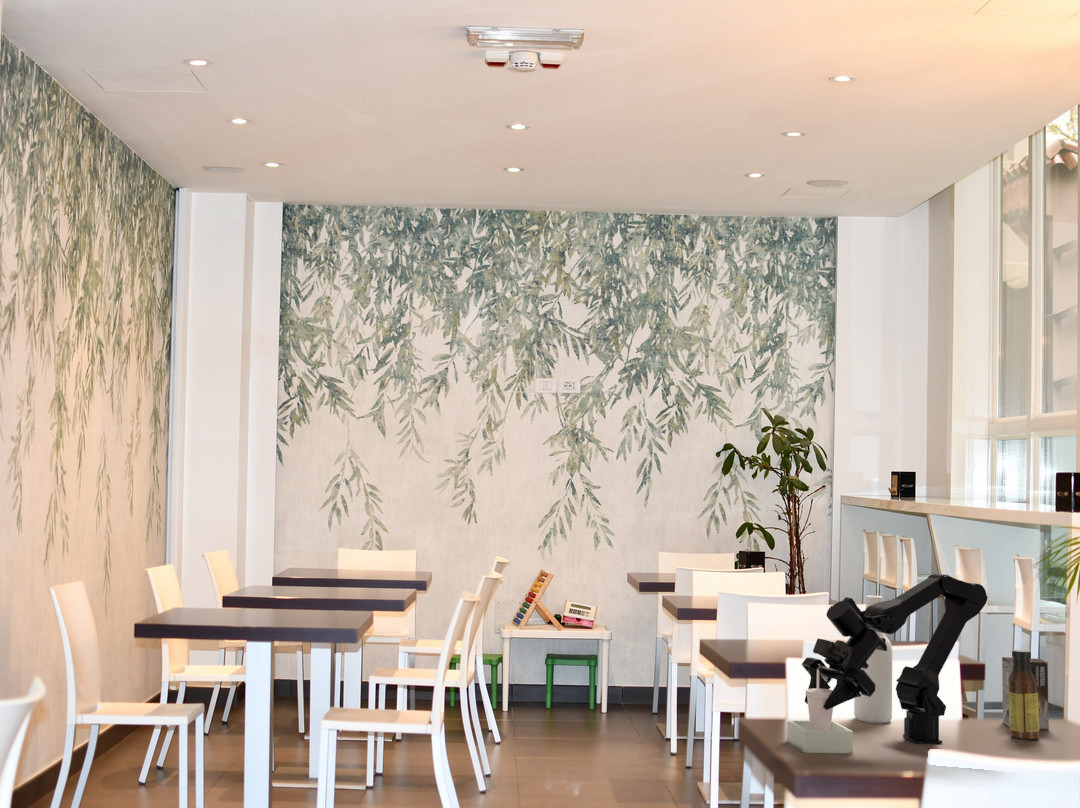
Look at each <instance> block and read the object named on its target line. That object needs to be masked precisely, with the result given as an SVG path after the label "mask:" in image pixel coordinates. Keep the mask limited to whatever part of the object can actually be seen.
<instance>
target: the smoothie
mask: <svg viewBox="0 0 1080 808" xmlns="http://www.w3.org/2000/svg"><path fill="white" fill-rule="evenodd" d="M832 691H833V690H832V689H820V688H819V670H817V688H810V689H808V688H806V689H805V696H806V695H807V701H808V704H807V708H808V716H809V721H810V727H811V730H830V728H831V721H833V720H832V719H833V718H832V717H833V711H834V707H832V708H830V709H828V710H825V708H824V707H823V706H824V704H825V702H826V700H827V699H828V697H829V695H830V694H831V692H832Z"/></svg>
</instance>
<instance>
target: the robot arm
mask: <svg viewBox="0 0 1080 808" xmlns="http://www.w3.org/2000/svg"><path fill="white" fill-rule="evenodd" d="M941 596H942V597H944V614H943V616H942V618H941V619H940V620H939V621H940V622H939V623H938V625H937V627H936V629H935V630H934V633H933V635H931V638H930V640H929V642H928V644H927V646H926V647H925V649H924V652H923V654H922V655H921V656H920V659H919V661H918V663H917V664H916V665H914V666H912V667H911V666H908V665H907V666H906V665H905V666H904V667H903V669H902V671H901V674H900V675H899V677H898V678H897V679H896V682H897V684H896V687H895V691H896V696H897V699H898V701H899V704H900V708H901V710H905V711H906V714H905V717H903V718H904V719H903V721H904V722H903V734H902V737H903V738H905V739H906V740H909V741H911V742H913V743H915V744H943V740H941V739H940V717H942V716H943V717H944V716H945V713H946V709H947V706H946V703H944V702H943V700H942V699H941V698H940V697H939V696H938V694H939V691H940V678H939V677H940V674H941V672H942V669H943V668H944V666H945V664H946V662H947V660H948V658H949V656H950V654H951V652H952V651H953V648H954V646H955V645H956V643H957V640H958V639H959V636H960V635H961V633H962V631H963V630H964V628H965V625H966V623H968V622H969V621H970V620H972V619H973V618H975V617H977V616H978V615H979V614H980V612H981V611H982V610H983V608H984V607H985V606H986V604H987V601H988V595H987V591H986V589H985V587H984V586H983V585H982V584H980V583H976V582H974V583H973V582H966V581H963V580H960V579H957V578H954V577H953V576H951V575H948V574H941V573H932V574H930V575H928V577H927V578H925V579H924V580H922V581H921V582H919V583H917V584H916V585H914V586H913V587H911V588H909V589H908V590H906V591H905V592H903V593H901V594H900V595H898V596H896V597H894V598H892V599H887V600H882V602H879V603H876V604H873V605H871V606H869V607H867V608H866V607H865V609H864V610H861V609H860V608H859V607H858V605H857V603H856V601H855V600H854V599H853V598H852V597H844V598H843V600H840V601H838V602H836V603H834V604H833V605H831V606H829V608H828V610H827V611H826V617H827V618H828V620H829V621H830V623H832V626H834V627H835V629H836V630H837V631H838V633H839V634H841V636H842V637H845V638H846V637H847V638H848V640H847V641H846V642H845V641H843V640H839V639H837V640H836V641H835V642H834V641H831V640H828V639H822V638H817V639H816V642H815V644H814V647H813V650H812V653H814V654H815V655H816V654H817V655H819V656H821V657H823V658H824V659H823V661H824V662H823V661H822V659H821V658H816V657H809V656H808V657H805V659H804V660H803V662H802V663H801V666H802V667H803V669H804V670H805V671H806V672H807V673H808V675H809V676H810V680H809V681H810V682H809V685H808V688H807V689H810V688H817V670H819V688H820V689H829V690H831V688H832V687H831V686H830V685H829V684H830V682H831V681H832V680H835V681H836V683H835V684H836V685H835V686H834V688H833V691H832V692H831V694H830V695H829V697H828V699H827V700H826V702H825V704H824V706H823V707H824V708H825V710H828V709H830V708H832V707H833V708H835V707H837V706H839V705H841V704H844V703H846V702H848V701H850V700H853V699H854V698H856V697H860V696H861V694H862V695H865V696H869V697H871V696H872V694H873V693H874V692H875V683H874V682H873V681H872V680H871V678H870V677H869V676H868V675H867V673H866V672H865V671H864V670H862V669H861V668H863V669H867V668H868V666H869V665H868V664H867V663H866V662H867V660H868V659H869V658H870V657H871V655H872V654H873V653H874V651H875V650H876V649H877V650H882V651H887V645H886V642H885V641H886V639H885V638H880V637H879V636H878V634H877V633H876V632H881V633H885V635H886V634H887V635H893V634H896V633H897V632H898V631H899V630H900V629H901V628H902V627H904V625H905V624H906V621H907V620H908V618H909V617H910V616H911V615H912V614H914V613H915V612H917V611H918V610H920V609H922V608H923V607H925V606H926V605H928V604H929V603H931V602H933V601H934V600H936V599H937V598H939V597H941ZM875 631H876V632H875ZM825 663H826V664H827V665H828V667H827V665H826V664H825ZM860 691H861V694H860ZM804 697H805V698H804V703H806V704H807V705H808V701H807V695H806V694H805V696H804Z"/></svg>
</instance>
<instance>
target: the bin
mask: <svg viewBox="0 0 1080 808" xmlns="http://www.w3.org/2000/svg"><path fill="white" fill-rule="evenodd" d="M786 742H787V743H789V744H790V745H792V746H793V747H795V748H796V749H798V750H800V751H801V752H803V753H804V754H806V753H807V754H854V731H853V730H851V729H850V728H848V727H846V726H844V725H842V724H840V723H838V722H837V721H834V720H831V728H830V730H811V727H810V720H799V719H798V720H797V719H794V720H793V719H792V720H791V719H787V722H786Z"/></svg>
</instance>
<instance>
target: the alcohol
mask: <svg viewBox="0 0 1080 808" xmlns="http://www.w3.org/2000/svg"><path fill="white" fill-rule="evenodd" d="M865 599H866V600H865V604H866V605H865V609H866V608H867V607H869V606H871V605H873V604H876V603H879V602H883V596H881V595H869V594H868V595H866V596H865ZM875 632H876V631H875ZM876 633H877V634H878V636H879V637H880V638H885V639H886V641H885V642H886V645H887V651H882V650H877V649H876V650H875V651H874V653H873V654H872V655H871V657H870V658H869V659H868V660H867V662H866V663H867V664H868V665H869V666H868V668H867V669H863V668H861V669H862V670H864V671H865V672H866V673H867V675H868V676H869V677H870V678H871V680H872V681H873V682H874V683H875V692H874V693H873V694H872V696H871V697H869V696H865V695H862V694H861V691H860V694H861V696H860V697H856V698H853V699H854V701H853V702H854V703H853V704H854V705H853V711H854V712H853V714H854V717H855V719H856V720H857V721H859V722H863V723H867V724H868V723H869V724H880V725H881V724H883V725H884V724H888V723H890V722H891V720H892V718H893V646H892V642H891V641H890V640H889V638H888V637H887V636H886V633H881V632H876Z"/></svg>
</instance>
